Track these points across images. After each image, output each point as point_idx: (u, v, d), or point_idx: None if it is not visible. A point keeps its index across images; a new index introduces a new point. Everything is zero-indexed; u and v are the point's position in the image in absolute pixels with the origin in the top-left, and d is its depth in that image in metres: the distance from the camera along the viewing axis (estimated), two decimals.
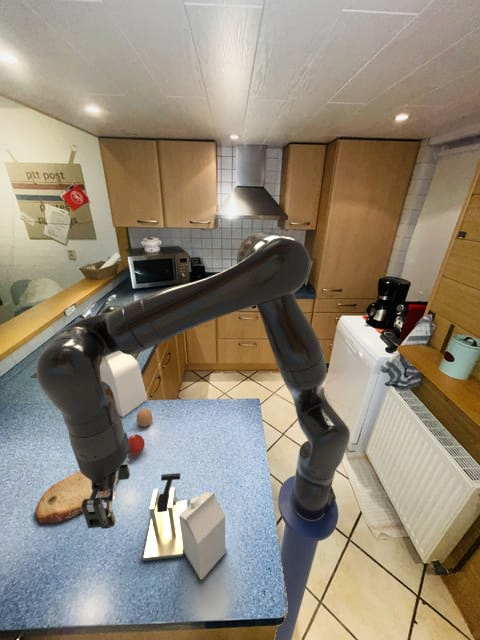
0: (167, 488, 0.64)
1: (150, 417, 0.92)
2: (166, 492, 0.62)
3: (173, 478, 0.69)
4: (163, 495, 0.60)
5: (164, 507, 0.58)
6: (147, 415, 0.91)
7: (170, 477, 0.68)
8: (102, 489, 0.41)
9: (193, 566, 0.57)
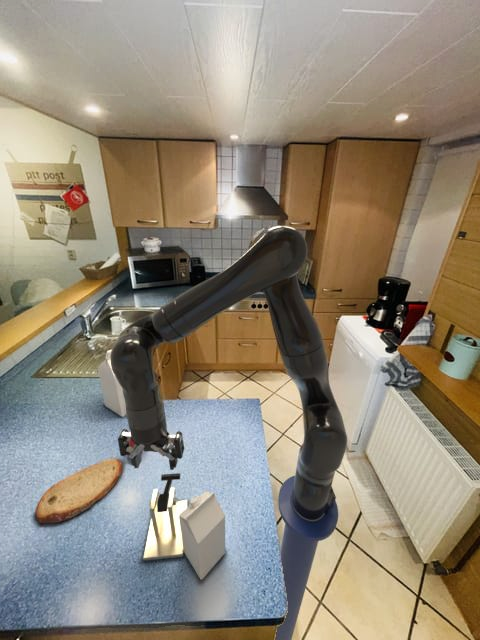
0: (167, 488, 0.64)
1: None
2: (166, 492, 0.62)
3: (173, 478, 0.69)
4: (163, 495, 0.60)
5: (164, 507, 0.58)
6: None
7: (170, 477, 0.68)
8: None
9: (193, 566, 0.57)
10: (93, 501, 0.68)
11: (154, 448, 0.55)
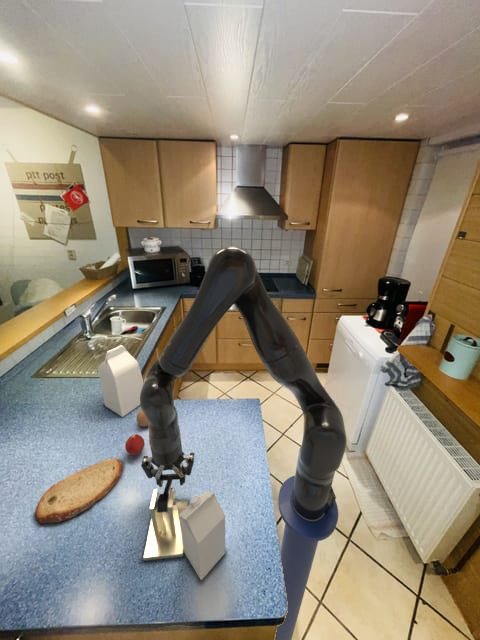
0: (167, 488, 0.64)
1: None
2: (166, 492, 0.62)
3: (173, 478, 0.69)
4: (163, 495, 0.60)
5: (164, 507, 0.58)
6: None
7: (170, 477, 0.68)
8: (184, 454, 0.67)
9: (193, 566, 0.57)
10: (93, 501, 0.68)
11: (173, 467, 0.65)
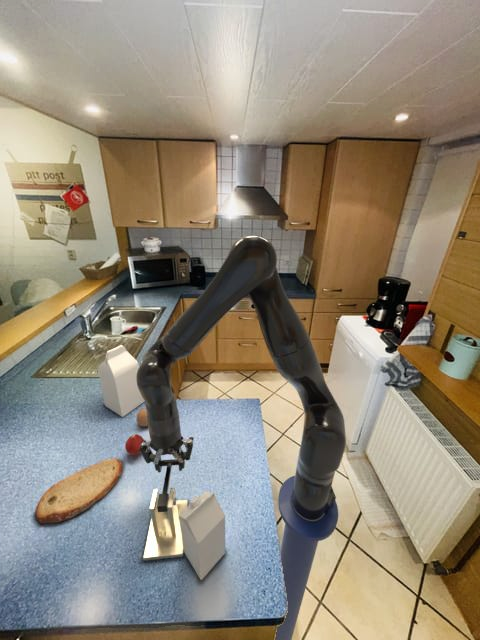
0: (166, 482, 0.63)
1: None
2: (165, 488, 0.62)
3: (172, 465, 0.68)
4: (162, 496, 0.60)
5: (164, 509, 0.58)
6: None
7: (169, 465, 0.67)
8: None
9: (193, 566, 0.57)
10: (93, 501, 0.68)
11: (171, 451, 0.64)
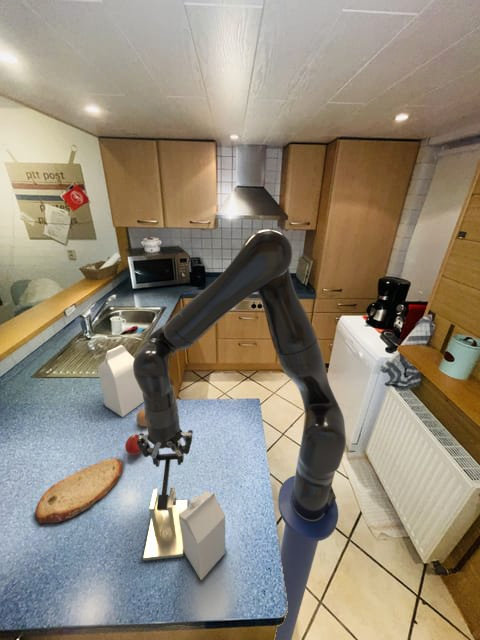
0: (166, 480, 0.62)
1: None
2: (165, 488, 0.61)
3: (171, 459, 0.66)
4: (162, 497, 0.59)
5: (165, 509, 0.59)
6: None
7: (167, 460, 0.65)
8: None
9: (193, 566, 0.57)
10: (93, 501, 0.68)
11: (170, 444, 0.62)
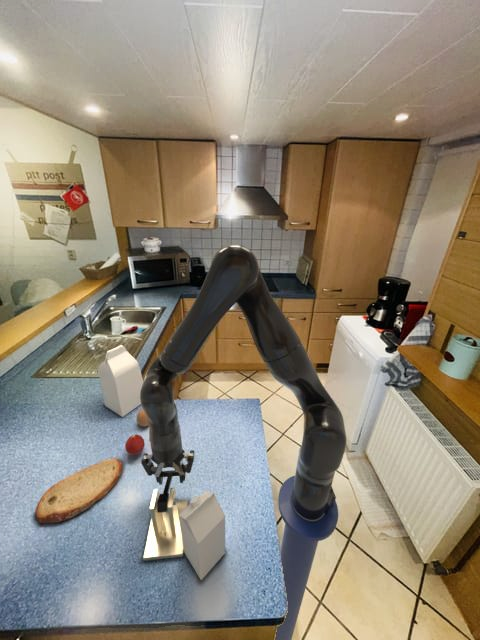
0: (167, 487, 0.64)
1: None
2: (166, 491, 0.62)
3: (173, 475, 0.69)
4: (163, 495, 0.60)
5: (164, 508, 0.58)
6: None
7: (170, 474, 0.68)
8: None
9: (193, 566, 0.57)
10: (93, 501, 0.68)
11: (173, 464, 0.65)
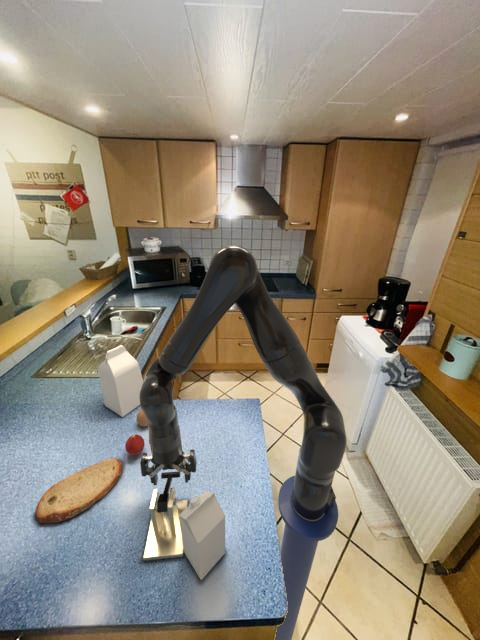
0: (167, 487, 0.64)
1: None
2: (166, 491, 0.62)
3: (173, 476, 0.69)
4: (163, 495, 0.60)
5: (164, 507, 0.58)
6: None
7: (170, 475, 0.68)
8: None
9: (193, 566, 0.57)
10: (93, 501, 0.68)
11: (173, 466, 0.65)
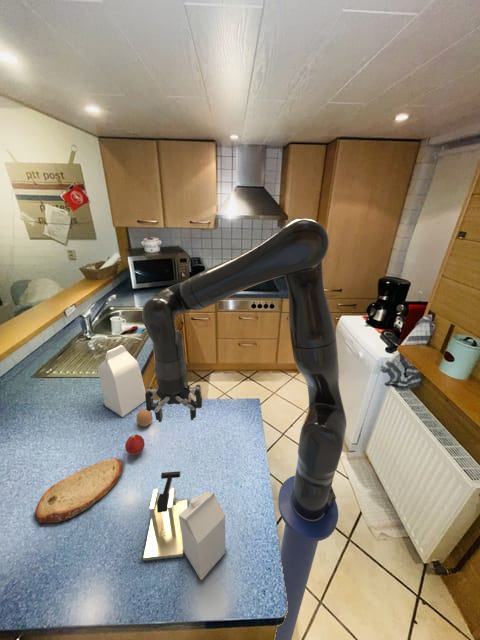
0: (167, 487, 0.64)
1: (150, 417, 0.92)
2: (166, 491, 0.62)
3: (173, 476, 0.69)
4: (163, 495, 0.60)
5: (164, 507, 0.58)
6: (147, 415, 0.91)
7: (170, 475, 0.68)
8: (190, 388, 0.66)
9: (193, 566, 0.57)
10: (93, 501, 0.68)
11: (178, 399, 0.64)
